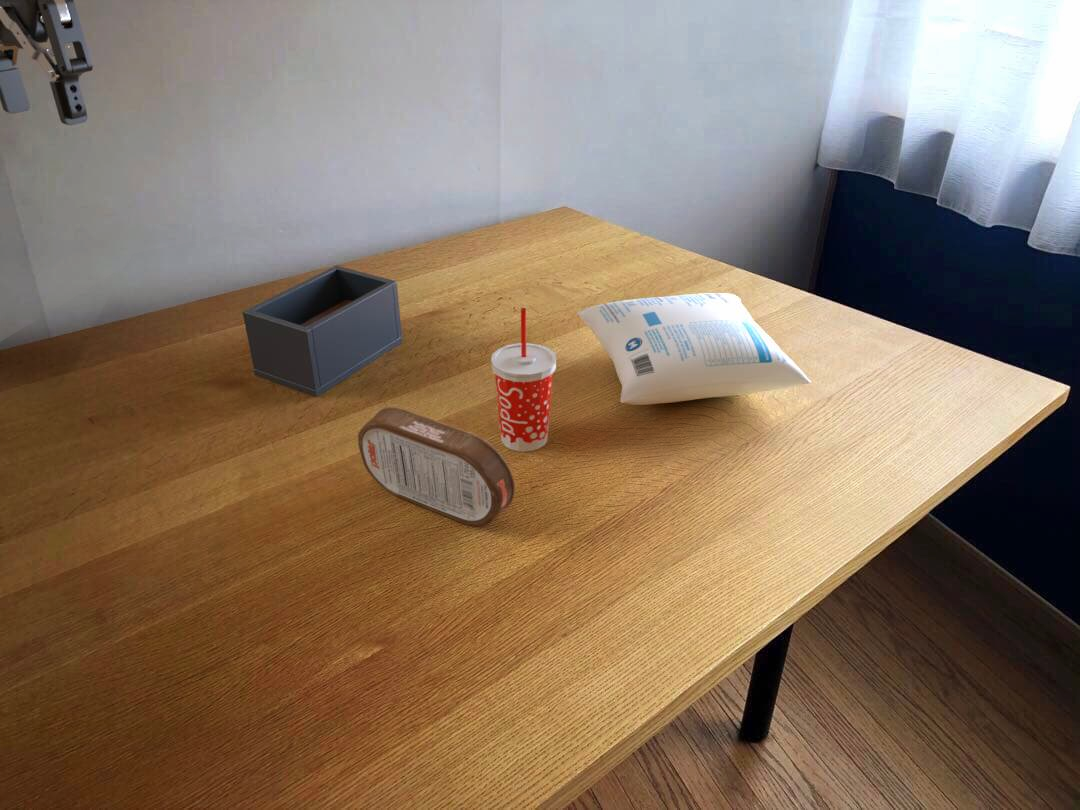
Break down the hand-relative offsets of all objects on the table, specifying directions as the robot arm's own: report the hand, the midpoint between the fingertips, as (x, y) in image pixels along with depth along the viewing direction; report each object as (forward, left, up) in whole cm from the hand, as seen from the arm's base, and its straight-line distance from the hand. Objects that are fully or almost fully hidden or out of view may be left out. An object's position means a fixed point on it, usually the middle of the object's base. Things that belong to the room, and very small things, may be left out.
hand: (46, 117), depth 79 cm
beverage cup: (+45, 0, -28) cm, 53 cm away
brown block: (+20, +10, -27) cm, 35 cm away
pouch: (+59, +16, -28) cm, 67 cm away
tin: (+40, -12, -28) cm, 50 cm away
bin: (+20, +10, -28) cm, 36 cm away
